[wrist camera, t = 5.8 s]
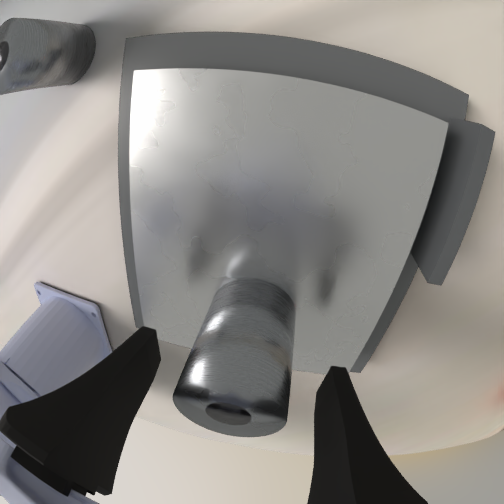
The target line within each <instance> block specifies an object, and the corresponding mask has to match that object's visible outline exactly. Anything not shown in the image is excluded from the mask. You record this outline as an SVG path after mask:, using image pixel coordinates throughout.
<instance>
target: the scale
mask: <svg viewBox="0 0 504 504" xmlns="http://www.w3.org/2000/svg"><path fill="white" fill-rule="evenodd" d="M176 68H198V69H225V70H239V71H251V72H260V73H269V74H276V75H283V76H290V77H296V78H302V79H307V80H313V81H318V82H322V83H327V84H332V85H336V86H340V87H344V88H348V89H352V90H356V91H360V92H363V93H367V94H371V95H374V96H377V97H381V98H384V99H387V100H390V101H393V102H396V103H399V104H402V105H405V106H407V107H410V108H413V109H416V110H418V111H421V112H423V113H426V114H428V115H431V116H433V117H436V118H438V119H441V120H443V121H445V122H447V123H449V124H448V129H447V134H446V138H445V143H444V147H443V151H442V155H441V159H440V163H439V167H438V170H437V174H436V177H435V181H434V184H433V188H432V191H431V194H430V197H429V200H428V203H427V206H426V209H425V212H424V215H423V218H422V221H421V224H420V227H419V229H418V232H417V235H416V237H415V240H414V243H413V245H412V248H411V250H410V253H409V255H408V258H407V260H406V262H405V265H404V267H403V269H402V272H401V274H400V276H399V278H398V281H397V283H396V285H395V287H394V289H393V292H392V294H391V296H390V298H389V300H388V302H387V304H386V306H385V308H384V310H383V312H382V314H381V316H380V318H379V320H378V322H377V324H376V326H375V328H374V330H373V331H372V333H371V335H370V337H369V339H368V341H367V342H366V344H365V346H364V348H363V349H362V351H361V353H360V355H359V356H358V358H357V360H356V361H355V363H354V365H353V366H352V368H351V370H350V371H349V372H358V373H361V371H362V370H363V368H364V367H365V365H366V364H367V362H368V360H369V359H370V357H371V356H372V354H373V352H374V351H375V349H376V347H377V346H378V344H379V342H380V341H381V339H382V337H383V335H384V334H385V332H386V330H387V328H388V327H389V325H390V323H391V321H392V319H393V317H394V316H395V314H396V312H397V310H398V308H399V306H400V304H401V302H402V300H403V298H404V296H405V294H406V292H407V290H408V288H409V286H410V284H411V282H412V280H413V277H414V275H415V273H416V271H417V269H418V267H419V268H420V270H421V272H422V274H423V275H424V277H425V279H426V281H427V283H431V284H436V285H442V283H443V281H444V279H445V277H446V275H447V273H448V271H449V269H450V267H451V265H452V263H453V260H454V258H455V256H456V254H457V251H458V249H459V247H460V244H461V242H462V240H463V237H464V235H465V232H466V230H467V227H468V225H469V222H470V219H471V217H472V214H473V211H474V208H475V205H476V203H477V200H478V196H479V193H480V190H481V187H482V184H483V180H484V177H485V173H486V170H487V166H488V162H489V158H490V154H491V150H492V146H493V141H494V136H495V132H494V131H493V130H491V129H489V128H487V127H486V126H484V125H482V124H479V123H474V122H470V121H465V116H466V110H467V104H468V98H469V95H468V94H466V93H464V92H462V91H460V90H458V89H456V88H454V87H452V86H450V85H448V84H446V83H444V82H442V81H440V80H437V79H435V78H433V77H431V76H428V75H426V74H423V73H421V72H419V71H416V70H413V69H411V68H408V67H406V66H403V65H400V64H397V63H394V62H392V61H389V60H386V59H383V58H379V57H376V56H373V55H370V54H366V53H363V52H359V51H355V50H351V49H347V48H343V47H339V46H335V45H330V44H325V43H321V42H315V41H310V40H304V39H298V38H291V37H284V36H276V35H266V34H255V33H239V32H184V33H168V34H157V35H148V36H140V37H133V38H126V43H125V50H124V58H123V66H122V76H121V88H120V102H119V123H118V178H119V200H120V215H121V227H122V238H123V247H124V256H125V264H126V271H127V279H128V285H129V291H130V298H131V303H132V309H133V314H134V320H135V325H136V327H137V328H141V327H142V326H144V323H143V317H142V311H141V305H140V298H139V291H138V283H137V275H136V267H135V258H134V247H133V236H132V222H131V205H130V171H129V149H130V116H131V100H132V87H133V76H134V71H136V70H150V69H176Z"/></svg>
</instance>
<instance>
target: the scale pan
mask: <svg viewBox="0 0 504 504" xmlns="http://www.w3.org/2000/svg"><path fill="white" fill-rule="evenodd" d="M448 124H449V123H447V122H445V121H443V120H441V119H438V118H436V117H433V116H431V115H428V114H426V113H423V112H421V111H418V110H416V109H413V108H410V107H407V106H405V105H402V104H399V103H396V102H393V101H390V100H387V99H384V98H381V97H377V96H374V95H371V94H367V93H363V92H360V91H356V90H352V89H348V88H344V87H340V86H336V85H332V84H327V83H322V82H318V81H313V80H307V79H302V78H296V77H290V76H283V75H276V74H269V73H260V72H251V71H239V70H225V69H198V68H176V69H150V70H136V71H134V76H133V87H132V100H131V116H130V149H129V171H130V205H131V222H132V236H133V247H134V258H135V267H136V275H137V283H138V291H139V298H140V305H141V311H142V317H143V323H144V326H145V327H149V328H152V329H156V331H157V338H158V340H161V341H165V342H168V343H172V344H175V345H179V346H183V347H187V348H190V349H192V347H193V345H194V342H195V340H196V338H197V335H198V333H199V330H200V328H201V326H202V323H203V321H204V319H205V316H206V314H207V312H208V309H209V307H210V305H211V302H212V300H213V297H214V295H215V293H216V292H217V291H218V289H219V288H220V287H222V286H223V285H224V284H226V283H228V282H230V281H232V280H236V279H241V278H256V279H262V280H265V281H268V282H271V283H273V284H275V285H277V286H278V287H280V288H281V289H283V290H284V291H285V292H286V293H287V294H288V295H289V296H290V298H291V299H292V301H293V303H294V306H295V310H296V320H295V335H294V349H293V362H292V370H297V371H304V372H311V373H318V374H326V375H327V373H328V371H329V369H330V367H331V366H338V367H346V369H347V371H348V373H349V371H350V370H351V368H352V366H353V365H354V363H355V361H356V360H357V358H358V356H359V355H360V353H361V351H362V349H363V348H364V346H365V344H366V342H367V341H368V339H369V337H370V335H371V333H372V331H373V330H374V328H375V326H376V324H377V322H378V320H379V318H380V316H381V314H382V312H383V310H384V308H385V306H386V304H387V302H388V300H389V298H390V296H391V294H392V292H393V289H394V287H395V285H396V283H397V281H398V278H399V276H400V274H401V272H402V269H403V267H404V265H405V262H406V260H407V258H408V255H409V253H410V250H411V248H412V245H413V243H414V240H415V237H416V235H417V232H418V229H419V227H420V224H421V221H422V218H423V215H424V212H425V209H426V206H427V203H428V200H429V197H430V194H431V191H432V188H433V184H434V181H435V177H436V174H437V170H438V167H439V163H440V159H441V155H442V151H443V147H444V143H445V138H446V134H447V129H448Z"/></svg>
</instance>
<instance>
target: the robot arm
mask: <svg viewBox="0 0 504 504" xmlns="http://www.w3.org/2000/svg"><path fill="white" fill-rule="evenodd" d="M34 287H35V290H36V293H37V296H38V298H39V301H40V304H41V306H40V307H39V308H38V309H37V310H36V311H35V312H34V313H33V314H32V315H31V316H30V317H29V319H28V320H27V321H26V322H25V323H24V324H23V325H22V326H21V327H20V329H19V330H18V331H17V332H16V333H15V334H14V336H13V337H12V338H11V339H10V340H9V341H8V343H7V344H6V345H5V346H4V347H3V349H2V350H1V351H0V496H3V497H4V498H5V499H6V500H7V502H8V503H9V504H99V503H97V502H95V501H93V500H91V499H89V498H87V497H85V496H86V493H87V492H88V493H90V494H92V495H95V492H98V493H100V494H102V495H109V494H112V489H113V484H114V479H115V475H116V471H117V467H118V463H119V460H120V456H121V452H122V450H123V446H124V443H125V440H126V438H127V434H128V432H129V429H130V426H131V424H132V422H133V420H134V417H135V415H136V414H137V412H138V410H139V408H140V406H141V404H142V402H143V400H144V398H145V396H146V394H147V392H148V390H149V388H150V386H151V384H152V382H153V380H154V377H155V375H156V372H157V369H158V367H159V364H160V361H161V357H160V351H159V345H158V338H157V331H156V329H152V328H149V327H145V326H142V327H141V328H140V329H138V330H137V331H136V332H135V333H134V334H133V335H132V336H131V337H129V338H128V339H127V340H126V341H125V342H124V343H123V344H121V345H120V346H119V347H118V348H117V349H115V350H114V351H113V352H112V349H111V346H110V343H109V340H108V337H107V334H106V330H105V327H104V324H103V320H102V317H101V313H100V309H99V307H98V306H97V305H96V304H95V303H92V302H89V301H86V300H84V299H81V298H78V297H75V296H73V295H70V294H67V293H65V292H62V291H60V290H57V289H55V288H52V287H50V286H47V285H45V284H42V283H40V282H36V283H35V284H34ZM307 504H428V503H427V501H426V500H425V499H423V498H422V497H421V496H420V495H419V494H418V493H417V492H416V491H415V490H414V489H413V488H412V486H411V485H410V484H409V483H408V482H407V481H406V480H405V478H404V477H403V476H402V475H401V473H400V472H399V471H398V470H397V468H396V467H395V466H394V464H393V463H392V462H391V460H390V458H389V457H388V455H387V454H386V452H385V451H384V449H383V448H382V446H381V444H380V443H379V441H378V439H377V437H376V435H375V434H374V432H373V430H372V428H371V426H370V424H369V422H368V420H367V417H366V415H365V413H364V411H363V409H362V406H361V404H360V402H359V399H358V397H357V394H356V392H355V390H354V387H353V384H352V382H351V379H350V376H349V374H348V371H347V369H346V367H338V366H331V367H330V369H329V371H328V373H327V375H326V376H325V378H324V380H323V382H322V384H321V385H320V387H319V389H318V391H317V394H316V402H315V412H314V468H313V476H312V482H311V488H310V493H309V498H308V503H307Z"/></svg>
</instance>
